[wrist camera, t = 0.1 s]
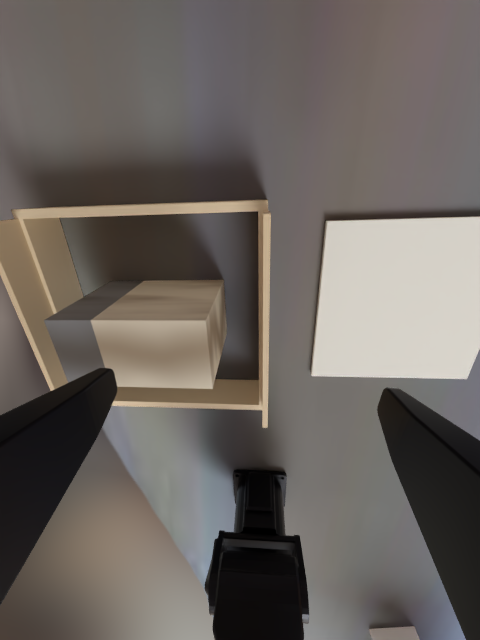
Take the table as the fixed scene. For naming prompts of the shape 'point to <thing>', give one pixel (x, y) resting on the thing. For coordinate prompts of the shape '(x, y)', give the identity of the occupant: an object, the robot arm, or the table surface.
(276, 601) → the robot arm
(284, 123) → the table surface
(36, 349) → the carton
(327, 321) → the white square tile
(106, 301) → the block
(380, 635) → the block
